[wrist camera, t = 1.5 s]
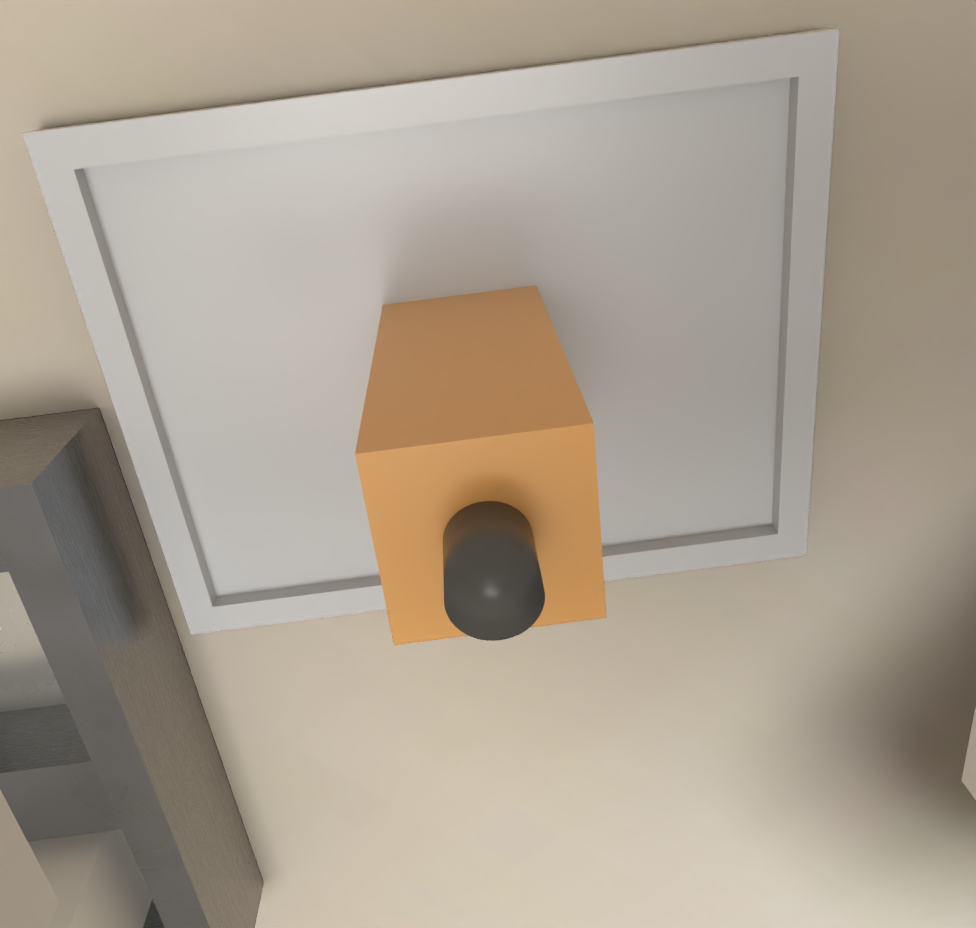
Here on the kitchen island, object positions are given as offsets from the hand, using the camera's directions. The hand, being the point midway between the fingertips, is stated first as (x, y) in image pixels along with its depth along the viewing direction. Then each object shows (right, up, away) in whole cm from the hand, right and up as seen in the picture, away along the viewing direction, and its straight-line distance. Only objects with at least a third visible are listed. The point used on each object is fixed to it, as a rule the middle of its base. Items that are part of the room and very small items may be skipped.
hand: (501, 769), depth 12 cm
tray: (-1, +7, +15) cm, 17 cm away
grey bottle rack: (-16, -5, +20) cm, 26 cm away
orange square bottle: (-1, +7, +14) cm, 16 cm away
